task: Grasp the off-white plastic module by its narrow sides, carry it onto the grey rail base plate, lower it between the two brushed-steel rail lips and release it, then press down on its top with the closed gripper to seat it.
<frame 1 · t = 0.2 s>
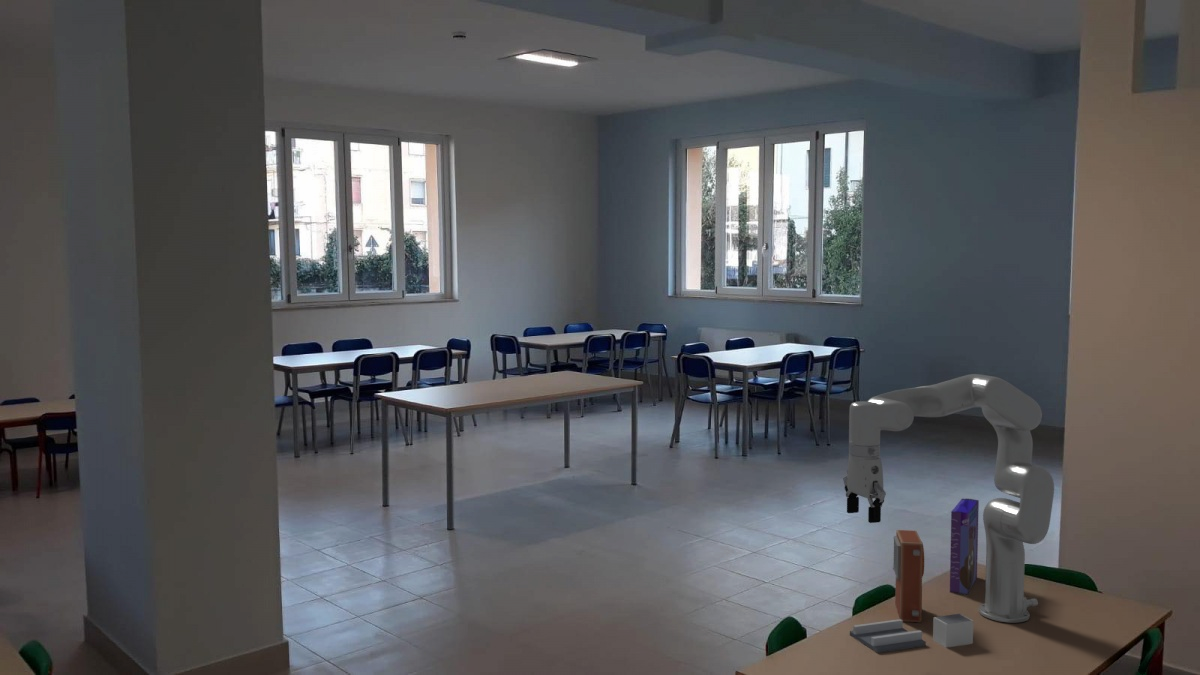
hand: (863, 517, 237), 31 cm above the table, tool pointing down, fingers open, 9 cm apart
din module: (952, 642, 235), on the table
orange upright battery pack: (907, 614, 254), on the table
grey rail base plate: (887, 640, 236), on the table
cereal box: (963, 585, 277), on the table
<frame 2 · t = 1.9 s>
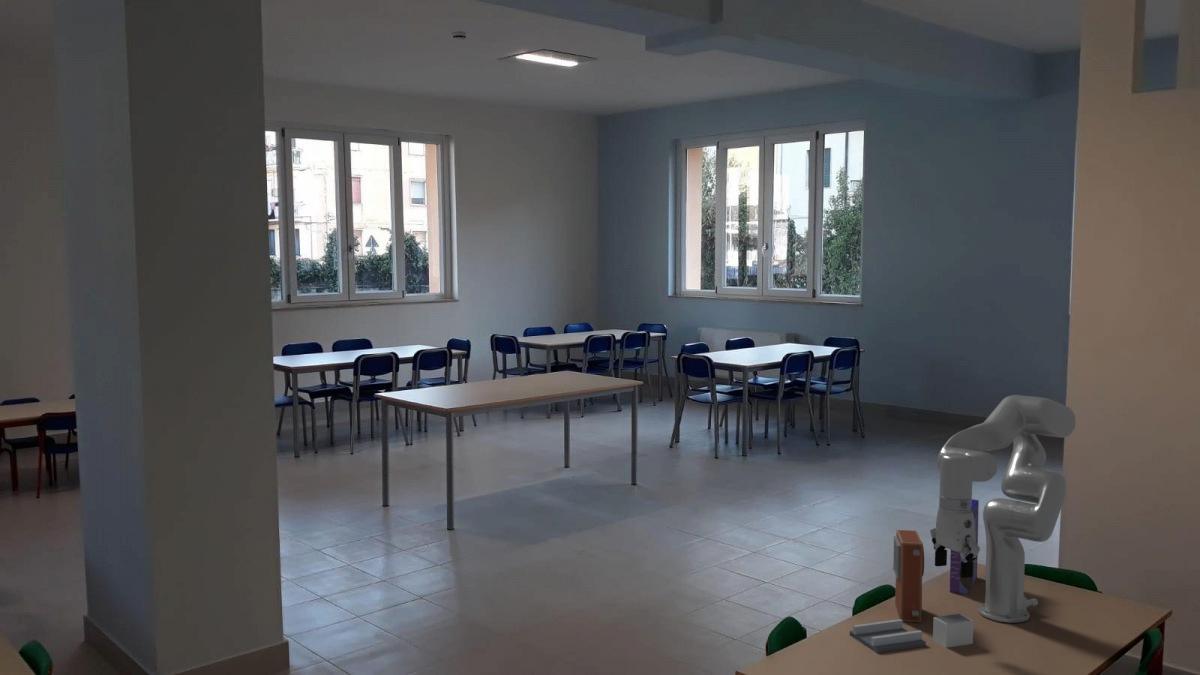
hand: (953, 571, 233), 18 cm above the table, tool pointing down, fingers open, 9 cm apart
nothing on the table moved.
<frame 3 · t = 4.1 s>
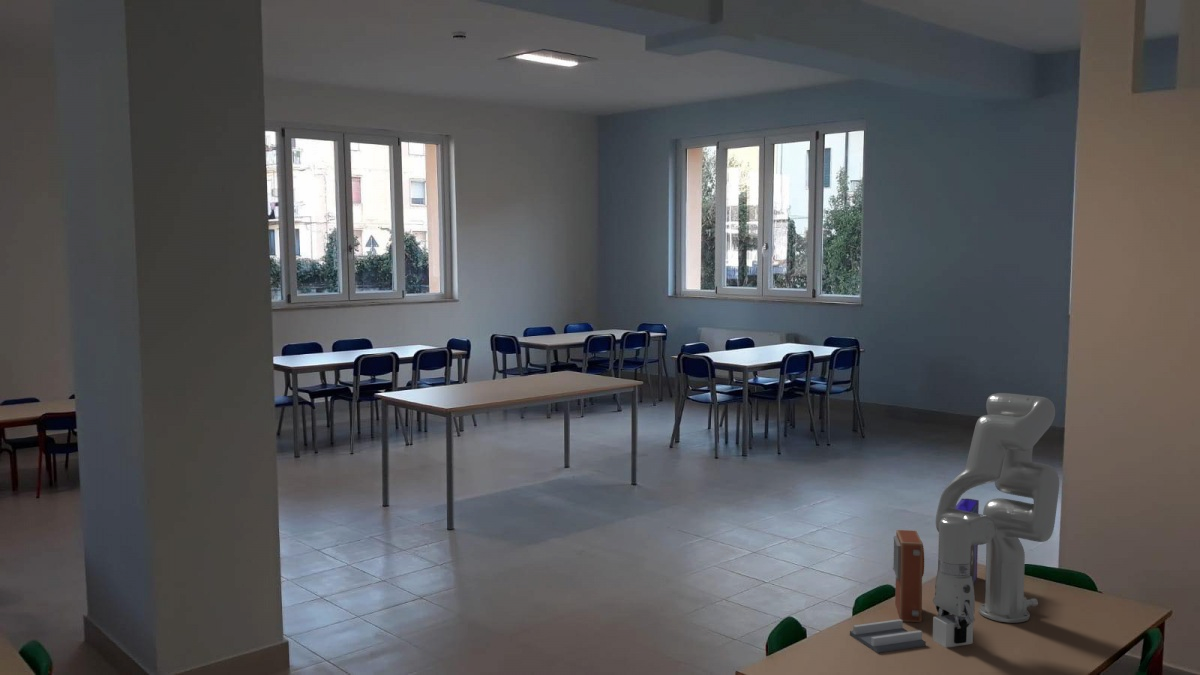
hand: (952, 637, 234), 1 cm above the table, tool pointing down, fingers closed on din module, 5 cm apart
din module: (952, 641, 235), on the table, touching gripper
everything else where it was.
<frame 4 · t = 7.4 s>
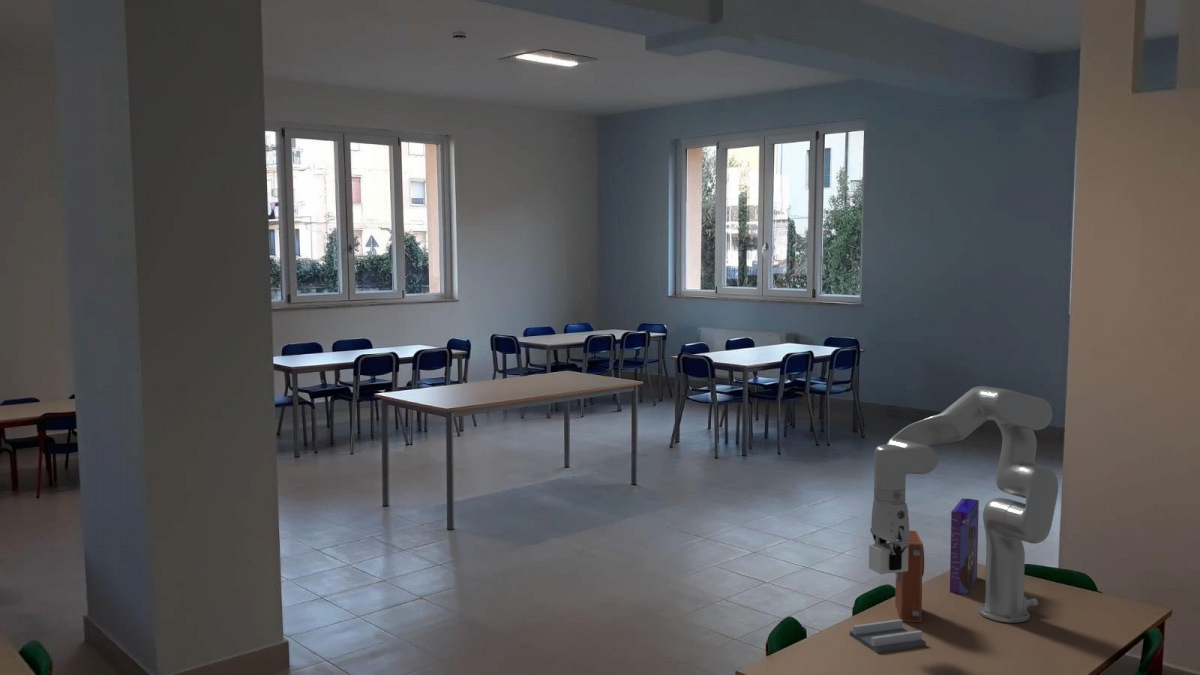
hand: (888, 565, 234), 19 cm above the table, tool pointing down, fingers closed on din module, 5 cm apart
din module: (888, 569, 235), point 18 cm above the table, touching gripper
everything else where it was.
when the fingers open (4 cm above the table, at t = 10.7 s): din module drops 1 cm, resting on grey rail base plate.
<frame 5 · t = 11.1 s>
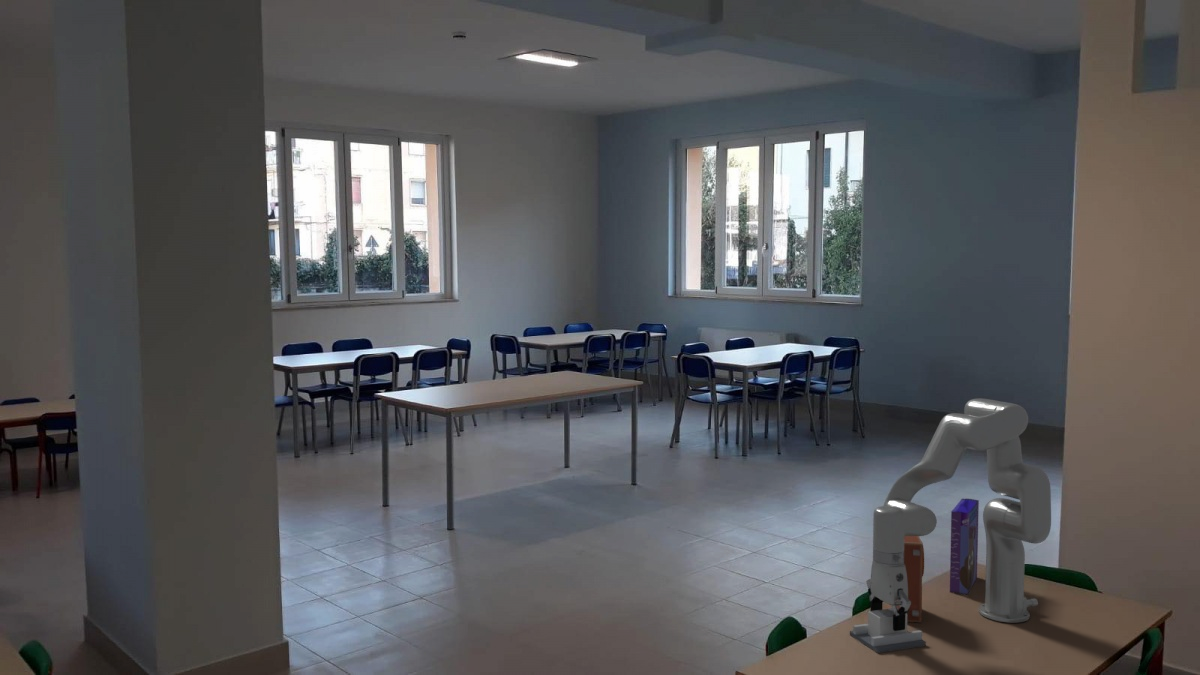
hand: (887, 622, 236), 4 cm above the table, tool pointing down, fingers open, 9 cm apart
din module: (887, 636, 236), point 1 cm above the table, touching grey rail base plate
everything else where it was.
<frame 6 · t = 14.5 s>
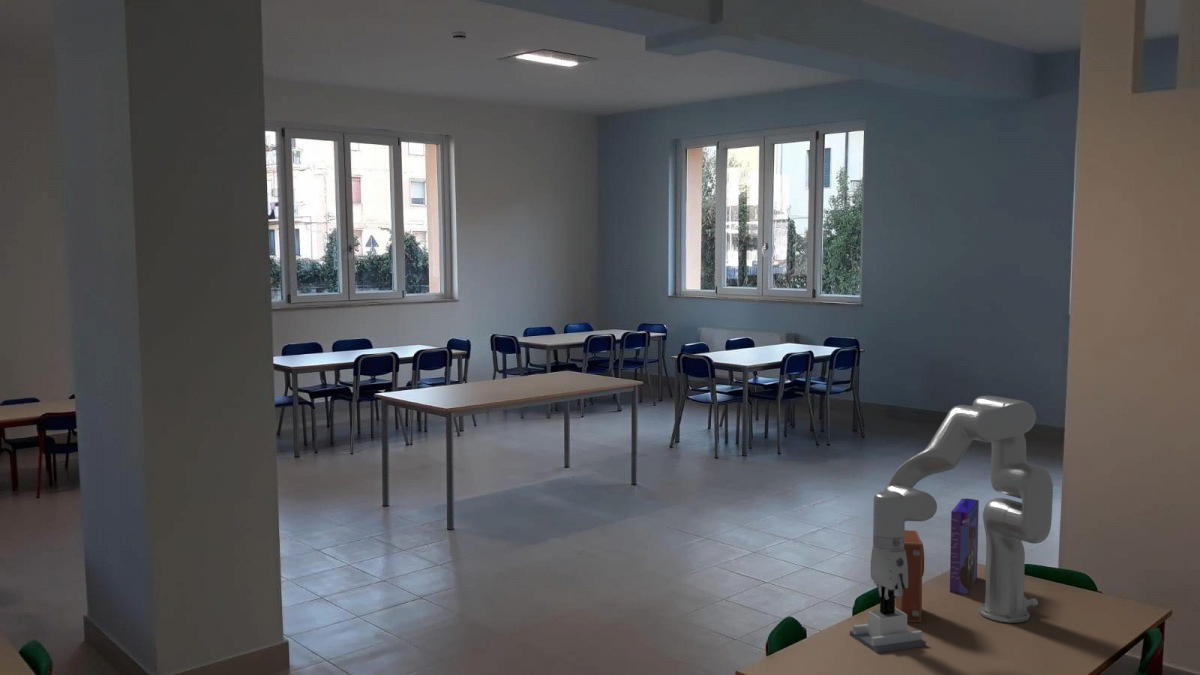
hand: (887, 612, 235), 7 cm above the table, tool pointing down, fingers closed
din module: (887, 636, 236), point 1 cm above the table, touching gripper, grey rail base plate
everything else where it was.
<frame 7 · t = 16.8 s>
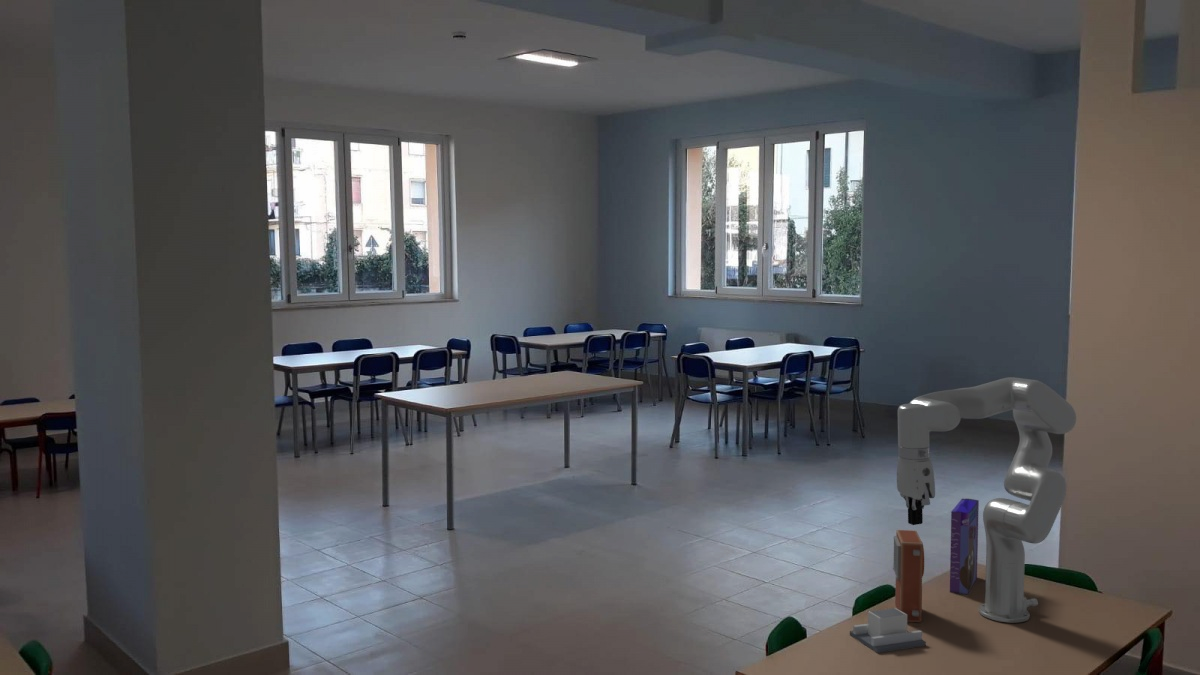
hand: (915, 523, 238), 29 cm above the table, tool pointing down, fingers closed
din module: (887, 636, 236), point 1 cm above the table, touching grey rail base plate
everything else where it was.
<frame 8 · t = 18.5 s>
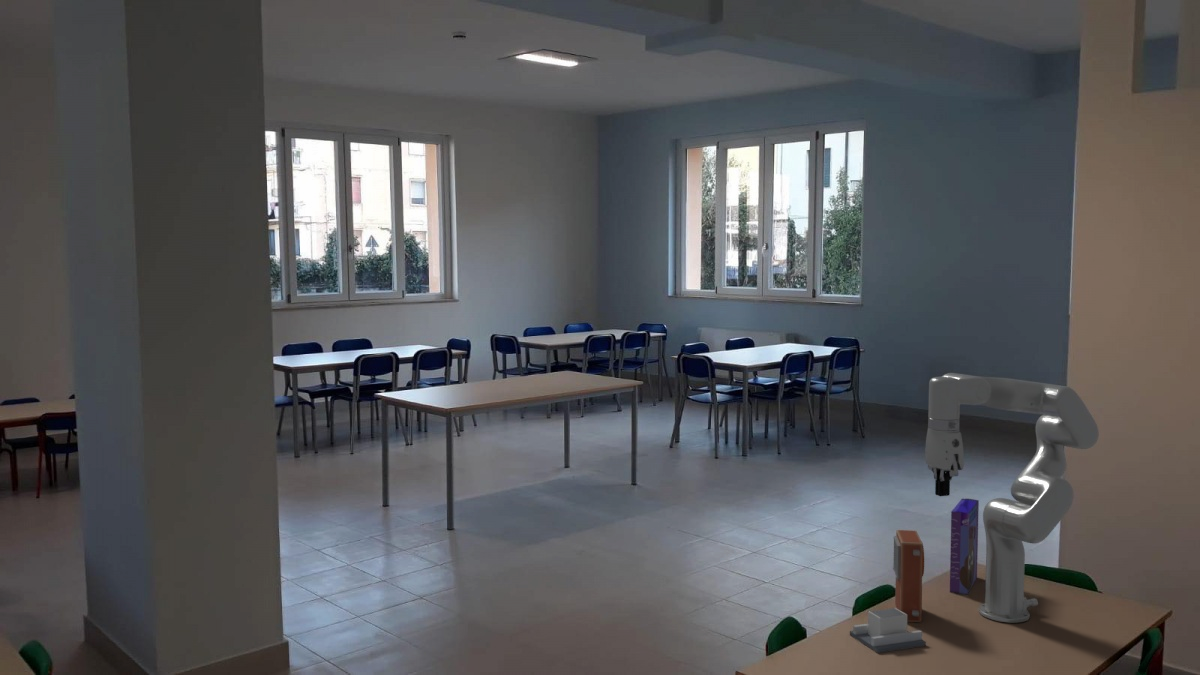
hand: (942, 495, 242), 35 cm above the table, tool pointing down, fingers closed
nothing on the table moved.
at the end: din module 0.1 cm off-centre on the grey rail base plate, point 1.0 cm above the grey rail base plate's base; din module tilted 0°; the gripper is holding nothing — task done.
